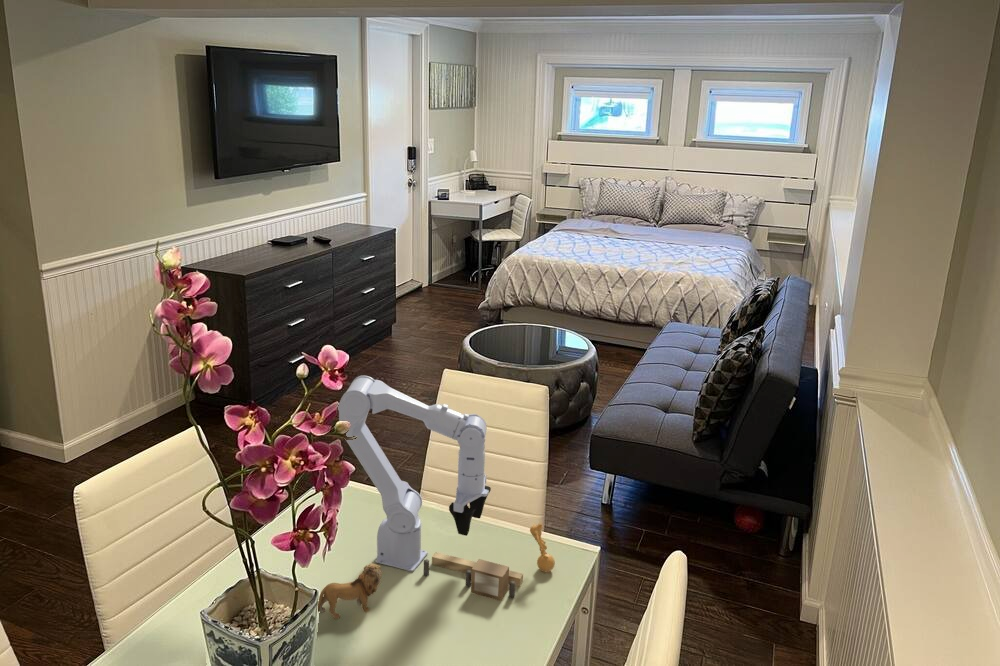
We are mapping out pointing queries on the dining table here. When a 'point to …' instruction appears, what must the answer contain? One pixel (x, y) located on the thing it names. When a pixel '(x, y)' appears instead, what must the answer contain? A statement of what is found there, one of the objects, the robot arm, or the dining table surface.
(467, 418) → the robot arm
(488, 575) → the wooden box
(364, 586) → the lion figurine
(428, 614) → the dining table surface
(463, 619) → the dining table surface
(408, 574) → the dining table surface
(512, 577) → the ledge
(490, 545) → the dining table surface
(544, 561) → the figurine
